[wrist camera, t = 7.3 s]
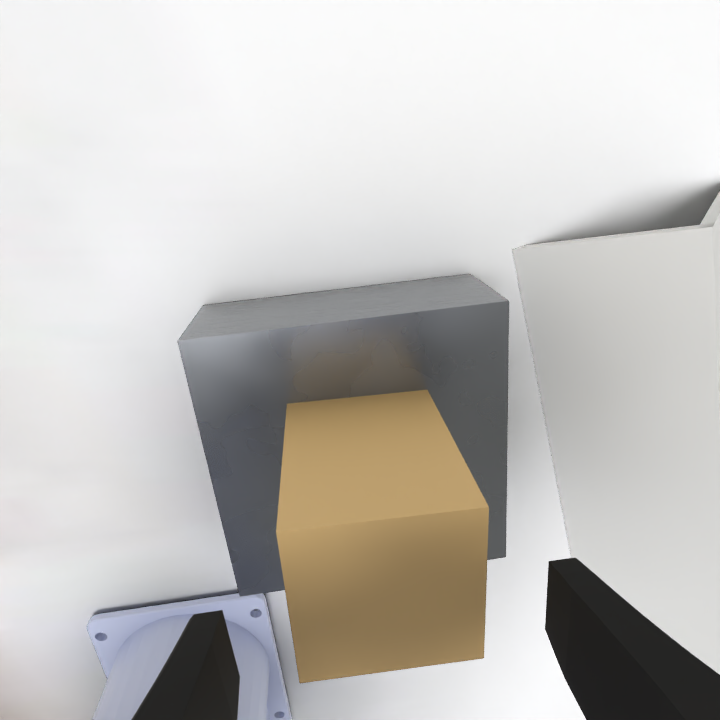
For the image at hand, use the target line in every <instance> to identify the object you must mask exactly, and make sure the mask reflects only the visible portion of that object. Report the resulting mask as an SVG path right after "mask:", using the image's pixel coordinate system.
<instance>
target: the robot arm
mask: <svg viewBox="0 0 720 720" xmlns="http://www.w3.org/2000/svg"><path fill="white" fill-rule="evenodd" d="M254 609H258V611H254ZM545 630H546V632H547V635H548V637H549V640H550V643H551V645H552V648H553V650H554V653H555V655H556V658H557V660H558V663H559V665H560V667H561V670H562V672H563V675H564V677H565V679H566V681H567V683H568V685H569V687H570V689H571V691H572V693H573V695H574V697H575V699H576V701H577V703H578V704H579V706H580V708H581V710H582V712H583V714H584V716H585V718H586V720H720V674H718V673H717V672H716V671H714V670H713V669H712V668H710V667H709V666H707V665H706V664H705V663H703V662H702V661H701V660H699V659H698V658H697V657H695V656H694V655H693V654H691V653H690V652H689V651H688V650H686V649H685V648H684V647H682V646H681V645H680V644H679V643H677V642H676V641H675V640H673V639H672V638H671V637H670V636H669V635H667V634H666V633H665V632H664V631H662V630H661V629H660V628H659V627H657V626H656V625H655V624H654V623H652V622H651V621H650V620H649V619H647V618H646V617H645V616H644V615H643V614H641V613H640V612H639V611H638V610H637V609H635V608H634V607H633V606H632V605H631V604H629V603H628V602H627V601H626V600H625V599H624V598H622V597H621V596H620V595H619V594H618V593H616V592H615V591H614V590H613V589H612V588H611V587H610V586H608V585H607V584H606V583H605V582H604V581H603V580H601V579H600V578H599V577H598V576H597V575H596V574H594V573H593V572H592V571H591V570H590V569H589V568H588V567H586V566H585V565H584V564H583V563H582V562H580V561H579V560H578V559H577V558H569V559H562V560H555V561H549V568H548V587H547V606H546V624H545ZM87 631H88V633H89V635H90V638H91V640H92V643H93V645H94V648H95V650H96V653H97V655H98V658H99V660H100V663H101V665H102V668H103V670H104V673H105V675H106V678H107V682H106V685H105V687H104V690H103V693H102V695H101V698H100V700H99V703H98V706H97V708H96V711H95V713H94V716H93V719H92V720H292V716H291V712H290V707H289V703H288V698H287V693H286V689H285V684H284V680H283V675H282V671H281V666H280V661H279V657H278V652H277V648H276V643H275V639H274V634H273V629H272V625H271V620H270V616H269V611H268V607H267V602H266V598H265V596H264V594H263V593H261V594H255V595H248V596H241V597H240V595H239V593H237V594H230V595H223V596H216V597H210V598H203V599H196V600H190V601H183V602H176V603H169V604H163V605H156V606H149V607H142V608H136V609H129V610H122V611H115V612H109V613H102V614H97V615H94V616H92V617H91V618H90V620H89V622H88V625H87Z"/></svg>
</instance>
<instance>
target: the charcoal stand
mask: <svg viewBox="0 0 720 720" xmlns="http://www.w3.org/2000/svg"><path fill="white" fill-rule="evenodd" d="M508 335H509V300H507V299H506V298H504V297H503V296H501V295H500V294H498V293H497V292H496V291H494V290H493V289H491V288H490V287H488V286H487V285H486V284H484V283H483V282H481V281H480V280H478V279H477V278H475V277H474V276H473V275H471V274H464V275H456V276H447V277H439V278H430V279H422V280H413V281H405V282H396V283H388V284H379V285H371V286H363V287H354V288H346V289H337V290H329V291H320V292H312V293H303V294H295V295H286V296H278V297H269V298H261V299H252V300H244V301H235V302H227V303H219V304H210V305H203V306H202V308H201V309H200V310H199V312H198V313H197V315H196V316H195V317H194V319H193V320H192V322H191V323H190V324H189V326H188V327H187V329H186V330H185V331H184V333H183V334H182V335H181V337H180V338H179V340H178V345H179V349H180V353H181V357H182V361H183V365H184V370H185V374H186V378H187V382H188V386H189V390H190V394H191V398H192V402H193V407H194V411H195V415H196V419H197V423H198V427H199V431H200V435H201V439H202V443H203V448H204V452H205V456H206V460H207V464H208V468H209V472H210V476H211V480H212V485H213V489H214V493H215V497H216V501H217V505H218V509H219V513H220V517H221V521H222V526H223V530H224V534H225V538H226V542H227V546H228V550H229V554H230V558H231V563H232V567H233V571H234V575H235V579H236V583H237V587H238V591H239V595H240V597H241V596H248V595H255V594H261V593H268V592H275V591H281V590H285V586H284V580H283V573H282V567H281V560H280V554H279V548H278V541H277V535H276V527H277V515H278V503H279V491H280V479H281V467H282V456H283V444H284V432H285V420H286V408H287V404H290V403H300V402H310V401H320V400H329V399H339V398H349V397H359V396H369V395H379V394H389V393H399V392H409V391H419V390H428V392H429V394H430V396H431V397H432V399H433V401H434V403H435V405H436V407H437V409H438V411H439V413H440V415H441V417H442V418H443V420H444V422H445V424H446V426H447V428H448V430H449V432H450V434H451V436H452V437H453V439H454V441H455V443H456V445H457V447H458V449H459V451H460V453H461V455H462V457H463V458H464V460H465V462H466V464H467V466H468V468H469V470H470V472H471V474H472V476H473V478H474V479H475V481H476V483H477V485H478V487H479V489H480V491H481V493H482V495H483V497H484V499H485V500H486V502H487V504H488V506H489V521H488V550H487V560H490V559H496V558H503V557H506V503H507V419H508Z"/></svg>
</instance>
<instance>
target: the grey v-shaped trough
mask: <svg viewBox="0 0 720 720" xmlns="http://www.w3.org/2000/svg"><path fill="white" fill-rule="evenodd" d="M512 252H513V258H514V263H515V268H516V273H517V279H518V284H519V289H520V294H521V300H522V305H523V310H524V315H525V320H526V326H527V331H528V336H529V341H530V346H531V352H532V357H533V362H534V367H535V372H536V378H537V383H538V388H539V393H540V398H541V404H542V409H543V414H544V419H545V424H546V430H547V435H548V440H549V445H550V450H551V456H552V461H553V466H554V471H555V476H556V482H557V487H558V492H559V497H560V502H561V508H562V513H563V518H564V523H565V528H566V533H567V539H568V544H569V549H570V554H571V558H577V559H578V560H579V561H580V562H582V563H583V564H584V565H585V566H586V567H588V568H589V569H590V570H591V571H592V572H593V573H594V574H596V575H597V576H598V577H599V578H600V579H601V580H603V581H604V582H605V583H606V584H607V585H608V586H610V587H611V588H612V589H613V590H614V591H615V592H616V593H618V594H619V595H620V596H621V597H622V598H624V599H625V600H626V601H627V602H628V603H629V604H631V605H632V606H633V607H634V608H635V609H637V610H638V611H639V612H640V613H641V614H643V615H644V616H645V617H646V618H647V619H649V620H650V621H651V622H652V623H654V624H655V625H656V626H657V627H659V628H660V629H661V630H662V631H664V632H665V633H666V634H667V635H669V636H670V637H671V638H672V639H673V640H675V641H676V642H677V643H679V644H680V645H681V646H682V647H684V648H685V649H686V650H688V651H689V652H690V653H691V654H693V655H694V656H695V657H697V658H698V659H699V660H701V661H702V662H703V663H705V664H706V665H707V666H709V667H710V668H712V669H713V670H714V671H716V672H717V673H718V674H720V191H719V193H718V195H717V196H716V198H715V200H714V201H713V203H712V205H711V206H710V208H709V210H708V212H707V213H706V215H705V217H704V218H703V220H702V222H701V223H700V225H693V226H685V227H676V228H668V229H659V230H651V231H642V232H633V233H625V234H616V235H608V236H599V237H590V238H582V239H573V240H565V241H556V242H548V243H539V244H530V245H524V246H521V247H518V248H515V249H512Z"/></svg>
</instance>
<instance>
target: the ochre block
mask: <svg viewBox="0 0 720 720" xmlns="http://www.w3.org/2000/svg"><path fill="white" fill-rule="evenodd" d="M488 521H489V506H488V504H487V502H486V500H485V499H484V497H483V495H482V493H481V491H480V489H479V487H478V485H477V483H476V481H475V479H474V478H473V476H472V474H471V472H470V470H469V468H468V466H467V464H466V462H465V460H464V458H463V457H462V455H461V453H460V451H459V449H458V447H457V445H456V443H455V441H454V439H453V437H452V436H451V434H450V432H449V430H448V428H447V426H446V424H445V422H444V420H443V418H442V417H441V415H440V413H439V411H438V409H437V407H436V405H435V403H434V401H433V399H432V397H431V396H430V394H429V392H428V390H419V391H409V392H399V393H389V394H379V395H369V396H359V397H349V398H339V399H329V400H320V401H310V402H300V403H290V404H287V408H286V420H285V432H284V444H283V456H282V467H281V479H280V491H279V503H278V515H277V527H276V535H277V541H278V548H279V554H280V560H281V567H282V573H283V580H284V586H285V592H286V599H287V605H288V612H289V618H290V624H291V631H292V637H293V644H294V650H295V657H296V663H297V669H298V676H299V682H300V683H306V682H313V681H320V680H328V679H335V678H342V677H350V676H357V675H364V674H372V673H379V672H386V671H394V670H401V669H408V668H416V667H423V666H430V665H438V664H445V663H452V662H460V661H467V660H474V659H482V658H484V638H485V609H486V580H487V550H488Z"/></svg>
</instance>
